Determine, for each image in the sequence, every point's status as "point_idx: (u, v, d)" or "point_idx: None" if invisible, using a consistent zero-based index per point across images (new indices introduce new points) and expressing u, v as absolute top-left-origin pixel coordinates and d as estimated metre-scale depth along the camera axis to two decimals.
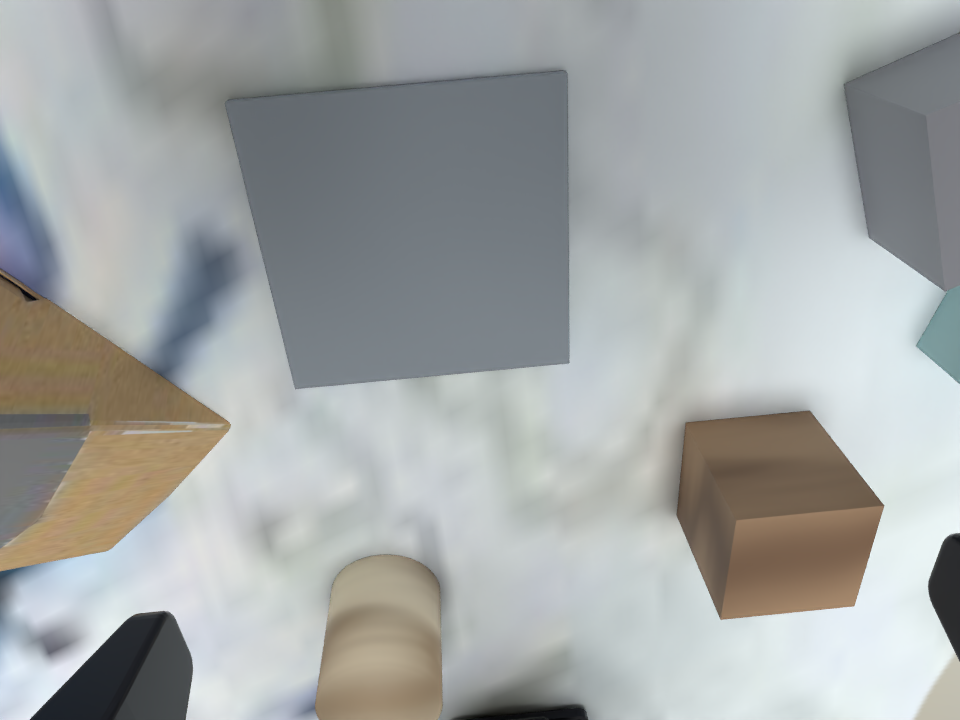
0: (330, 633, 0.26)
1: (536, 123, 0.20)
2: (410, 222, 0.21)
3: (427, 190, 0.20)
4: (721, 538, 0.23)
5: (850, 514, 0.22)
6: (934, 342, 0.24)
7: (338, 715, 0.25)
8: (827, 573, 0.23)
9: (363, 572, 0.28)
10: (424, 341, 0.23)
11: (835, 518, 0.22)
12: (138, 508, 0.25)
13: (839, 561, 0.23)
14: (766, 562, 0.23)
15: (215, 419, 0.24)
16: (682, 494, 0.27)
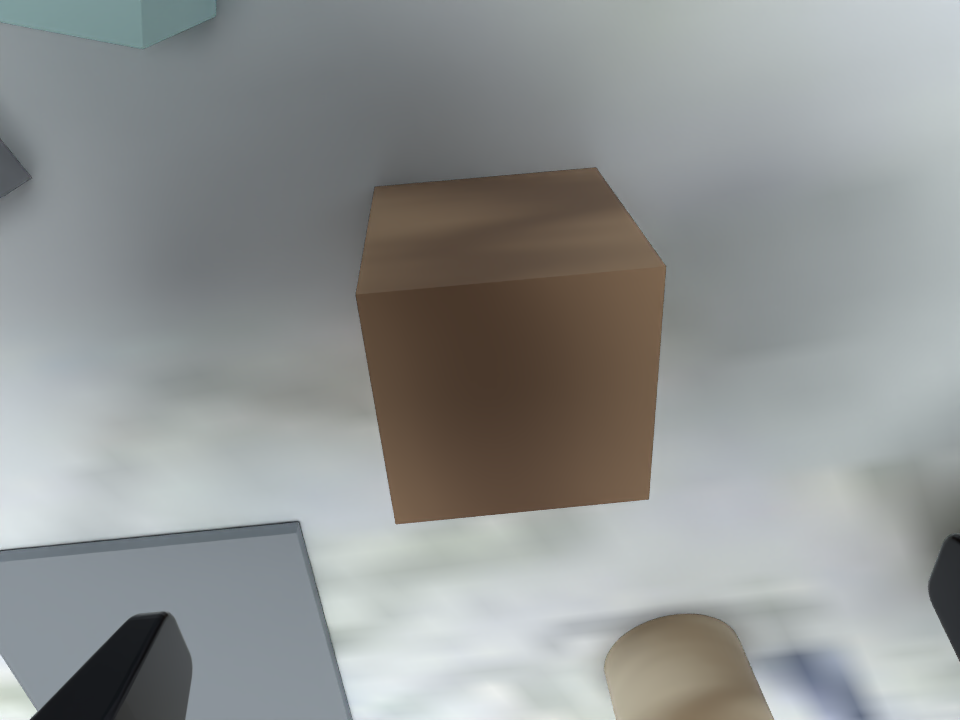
0: None
1: (5, 585, 0.19)
2: None
3: None
4: None
5: (380, 352, 0.11)
6: None
7: None
8: (550, 348, 0.11)
9: None
10: (282, 652, 0.21)
11: (390, 376, 0.11)
12: None
13: (514, 337, 0.11)
14: (505, 459, 0.12)
15: None
16: None
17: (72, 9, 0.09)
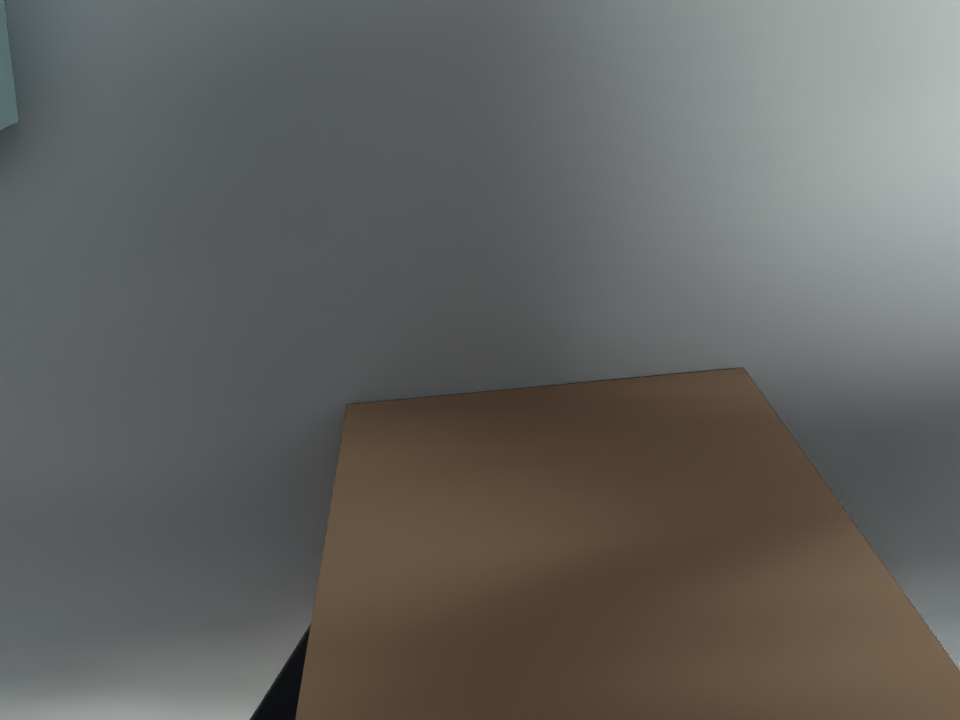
0: None
1: None
2: None
3: None
4: None
5: None
6: None
7: None
8: None
9: None
10: None
11: None
12: None
13: None
14: None
15: None
16: None
17: None
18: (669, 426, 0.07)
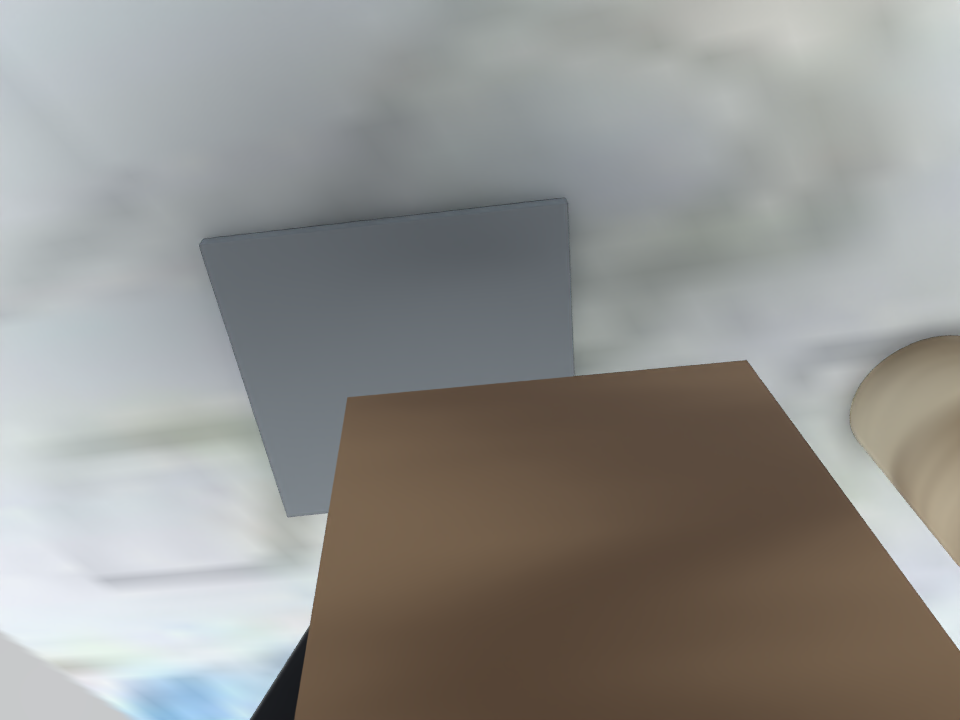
0: None
1: (257, 271, 0.18)
2: (381, 385, 0.20)
3: (346, 370, 0.20)
4: None
5: None
6: None
7: None
8: None
9: (862, 437, 0.21)
10: (525, 370, 0.20)
11: None
12: None
13: None
14: None
15: None
16: None
17: None
18: (672, 418, 0.07)
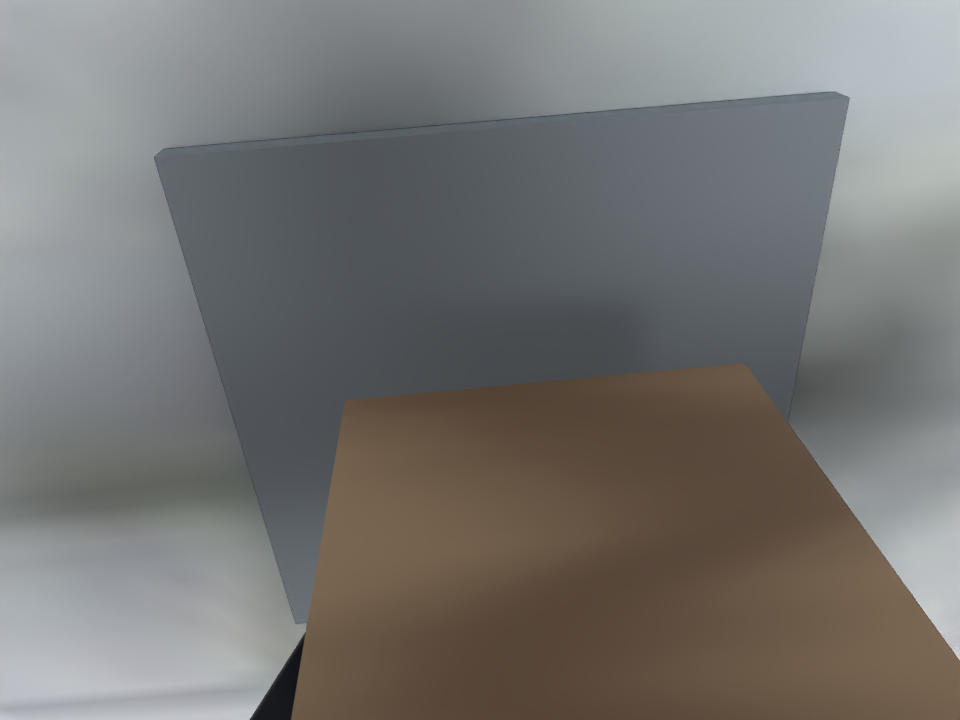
0: None
1: (264, 212, 0.10)
2: None
3: None
4: None
5: None
6: None
7: None
8: None
9: None
10: None
11: None
12: None
13: None
14: None
15: None
16: None
17: None
18: (670, 421, 0.07)
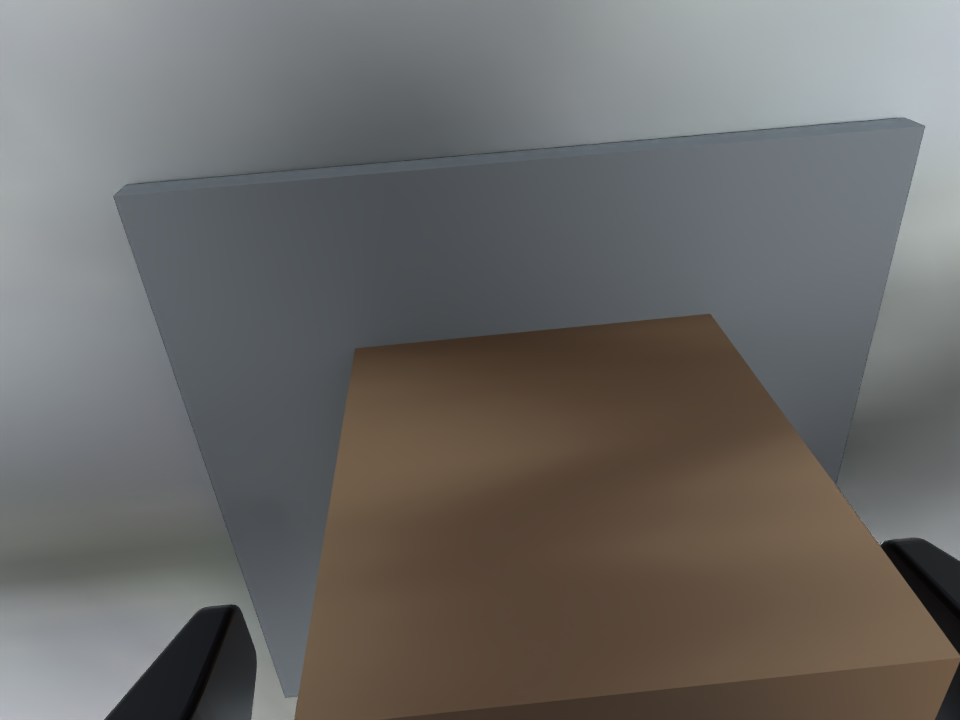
0: None
1: (242, 258, 0.08)
2: None
3: None
4: None
5: None
6: None
7: None
8: None
9: None
10: None
11: None
12: None
13: None
14: None
15: None
16: None
17: None
18: (641, 361, 0.08)
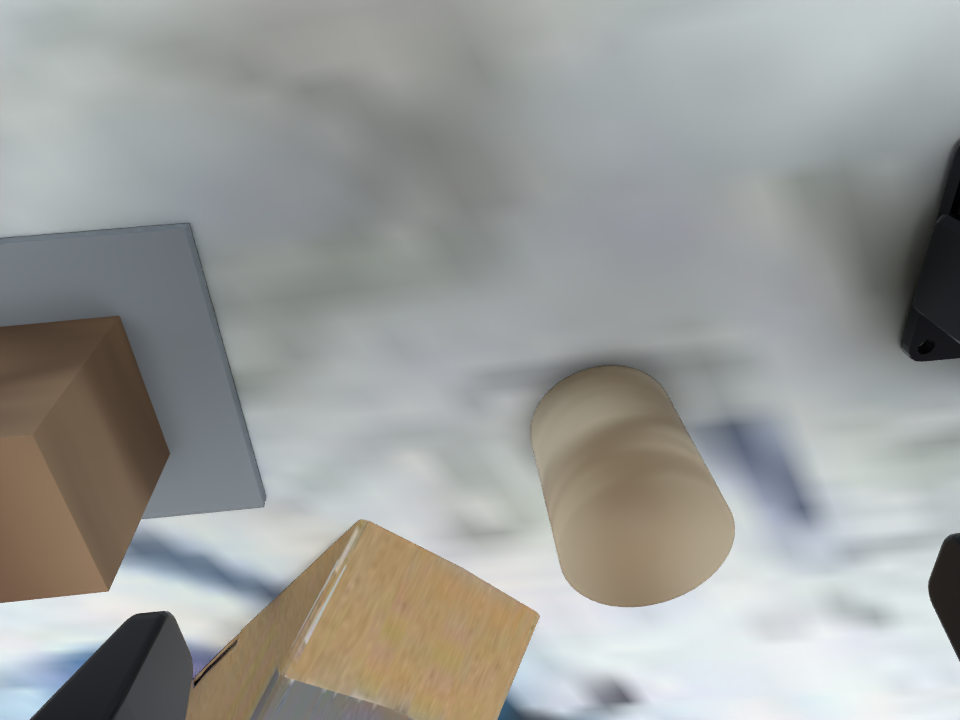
0: None
1: None
2: None
3: None
4: None
5: None
6: None
7: (653, 586, 0.19)
8: None
9: None
10: (180, 393, 0.20)
11: None
12: (463, 600, 0.25)
13: None
14: None
15: (349, 534, 0.23)
16: None
17: None
18: (59, 338, 0.18)
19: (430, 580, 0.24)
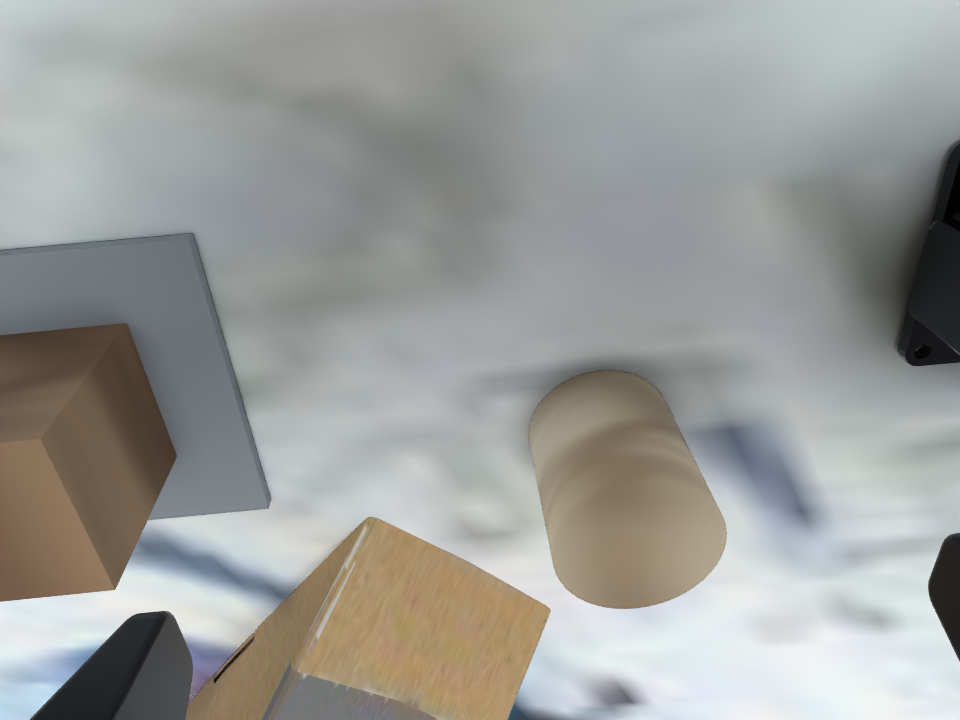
0: None
1: None
2: None
3: None
4: None
5: None
6: None
7: (646, 588, 0.19)
8: None
9: None
10: (186, 397, 0.20)
11: None
12: (473, 594, 0.25)
13: None
14: None
15: (358, 532, 0.24)
16: None
17: None
18: (69, 345, 0.18)
19: (439, 575, 0.24)
